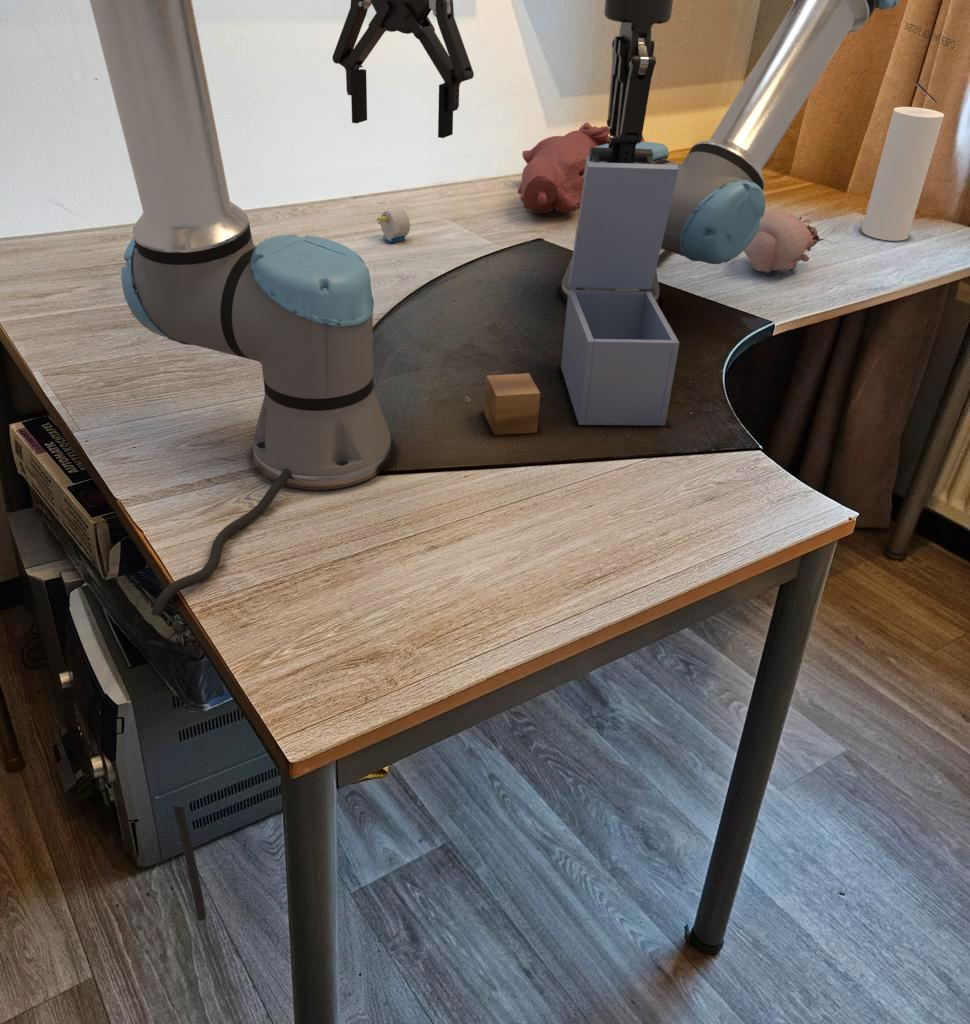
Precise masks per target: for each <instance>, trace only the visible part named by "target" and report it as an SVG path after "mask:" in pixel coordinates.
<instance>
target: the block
mask: <svg viewBox="0 0 970 1024" xmlns="http://www.w3.org/2000/svg"><path fill="white" fill-rule="evenodd" d="M484 396H485V397H484V398H485V399H484V416H485V418H486V421H487V423H488V426H489V427H490V430H491V432H492V434H493V436H506V435H519V434H532V433H533V434H534V433H538V424H539V413H540V401H541V392H540V390H539V388H538V387H537V385H536V383H535V381H534V379H533V377H532V376H531V374H530V373H529V372H527V373H526V372H525V373H510V374H509V373H508V374H493V375H486V378H485V395H484Z"/></svg>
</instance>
